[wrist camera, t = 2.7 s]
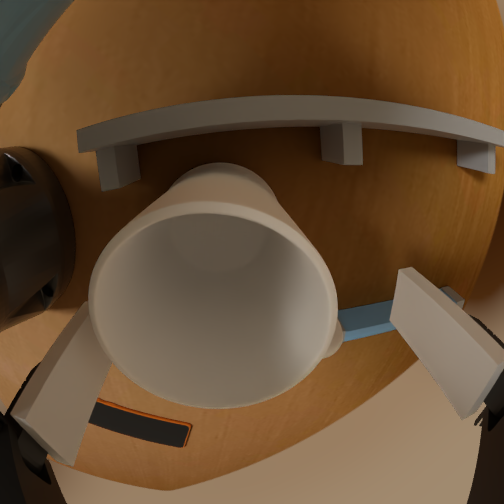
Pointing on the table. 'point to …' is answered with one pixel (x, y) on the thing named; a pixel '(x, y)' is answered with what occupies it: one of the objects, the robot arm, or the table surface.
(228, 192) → the mug
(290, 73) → the table surface
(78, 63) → the table surface
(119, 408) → the smartphone
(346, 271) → the table surface
